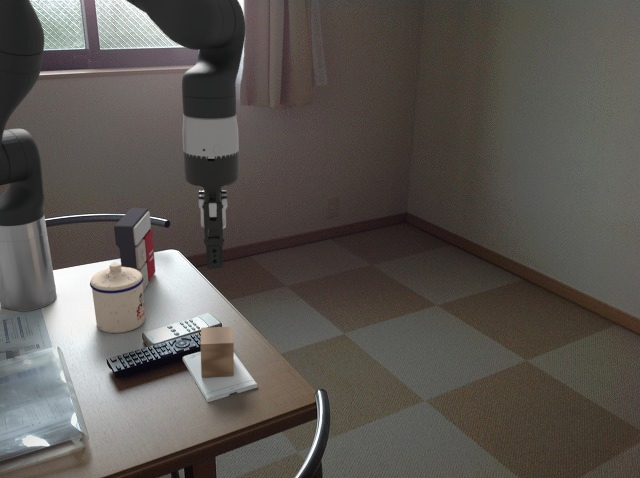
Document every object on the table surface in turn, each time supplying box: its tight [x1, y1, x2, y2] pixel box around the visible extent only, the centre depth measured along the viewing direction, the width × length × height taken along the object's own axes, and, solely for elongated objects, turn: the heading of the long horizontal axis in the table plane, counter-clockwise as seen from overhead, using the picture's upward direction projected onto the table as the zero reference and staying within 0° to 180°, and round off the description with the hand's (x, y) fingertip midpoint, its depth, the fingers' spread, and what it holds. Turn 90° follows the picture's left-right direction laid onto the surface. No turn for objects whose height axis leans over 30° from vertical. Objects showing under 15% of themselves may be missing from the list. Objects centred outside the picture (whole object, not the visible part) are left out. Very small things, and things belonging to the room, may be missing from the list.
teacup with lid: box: [89, 262, 146, 334], centre depth 108 cm, size 12×9×12 cm
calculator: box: [113, 207, 156, 292], centre depth 120 cm, size 11×4×15 cm, turn 179°
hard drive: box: [182, 351, 258, 403], centre depth 95 cm, size 2×8×12 cm
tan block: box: [200, 326, 235, 377], centre depth 94 cm, size 5×5×6 cm
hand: (214, 255), depth 87 cm, fingers open, 8 cm apart
